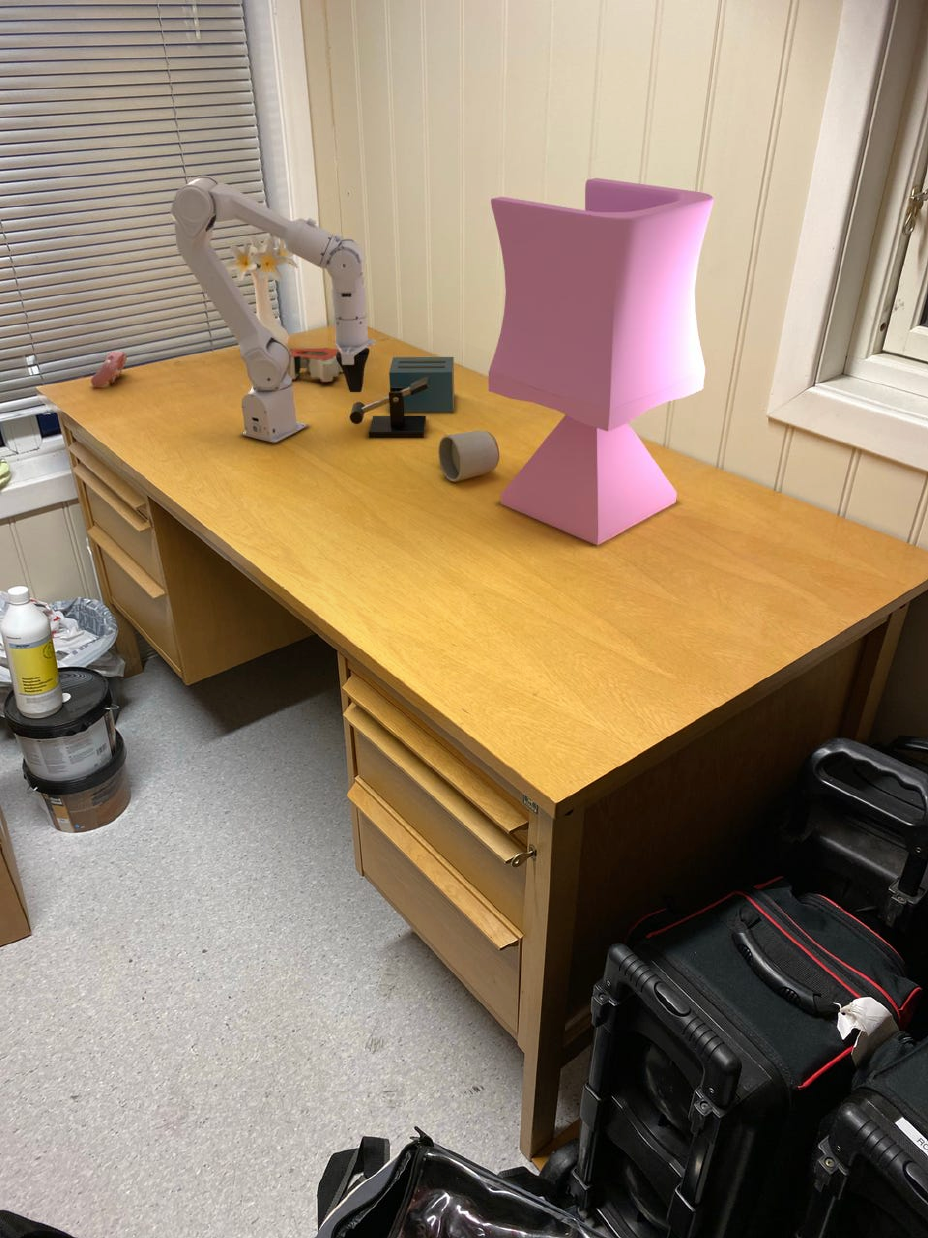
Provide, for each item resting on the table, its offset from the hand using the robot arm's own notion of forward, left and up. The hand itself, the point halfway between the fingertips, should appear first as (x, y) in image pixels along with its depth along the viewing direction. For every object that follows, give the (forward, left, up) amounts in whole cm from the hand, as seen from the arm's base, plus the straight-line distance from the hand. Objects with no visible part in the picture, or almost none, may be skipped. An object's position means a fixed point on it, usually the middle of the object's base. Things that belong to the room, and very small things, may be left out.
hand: (355, 390), depth 173 cm
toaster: (+17, -3, -8) cm, 19 cm away
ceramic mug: (-7, -27, -8) cm, 29 cm away
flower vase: (+25, +44, -8) cm, 52 cm away
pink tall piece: (-7, -50, -8) cm, 51 cm away
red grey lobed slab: (+22, +25, -8) cm, 35 cm away
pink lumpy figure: (-4, +62, -8) cm, 63 cm away
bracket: (+4, -6, -8) cm, 10 cm away
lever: (+3, -6, -3) cm, 7 cm away
